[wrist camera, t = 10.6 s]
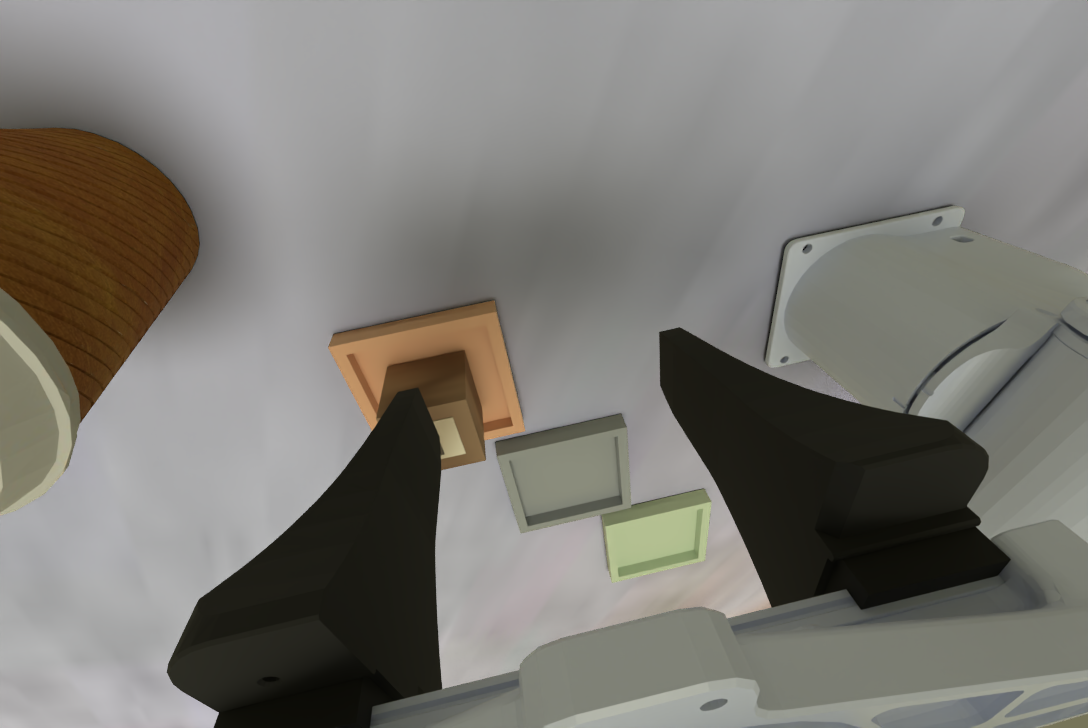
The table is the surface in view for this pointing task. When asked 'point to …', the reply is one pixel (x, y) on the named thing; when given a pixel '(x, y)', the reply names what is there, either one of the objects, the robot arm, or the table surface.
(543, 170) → the table surface
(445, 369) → the letter cube
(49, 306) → the disposable coffee cup
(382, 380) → the terracotta dish
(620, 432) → the slate dish
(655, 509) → the sage dish
